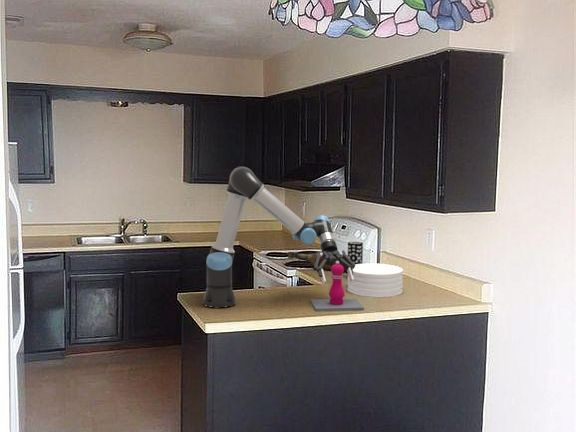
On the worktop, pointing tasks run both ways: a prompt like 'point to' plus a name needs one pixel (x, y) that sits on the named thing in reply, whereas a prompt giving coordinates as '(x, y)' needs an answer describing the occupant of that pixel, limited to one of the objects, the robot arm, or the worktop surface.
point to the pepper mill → (337, 285)
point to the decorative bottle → (314, 260)
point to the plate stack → (376, 280)
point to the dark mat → (326, 306)
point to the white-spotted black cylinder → (355, 252)
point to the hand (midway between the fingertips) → (338, 281)
